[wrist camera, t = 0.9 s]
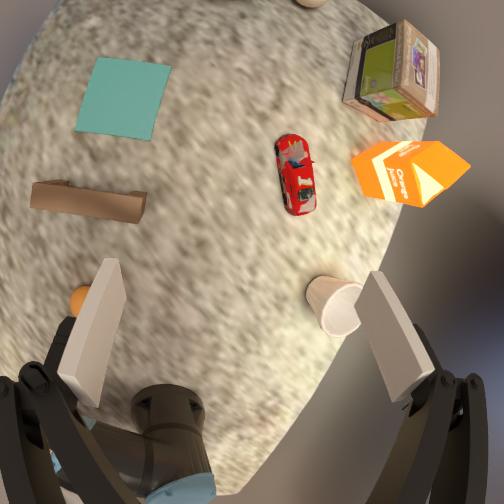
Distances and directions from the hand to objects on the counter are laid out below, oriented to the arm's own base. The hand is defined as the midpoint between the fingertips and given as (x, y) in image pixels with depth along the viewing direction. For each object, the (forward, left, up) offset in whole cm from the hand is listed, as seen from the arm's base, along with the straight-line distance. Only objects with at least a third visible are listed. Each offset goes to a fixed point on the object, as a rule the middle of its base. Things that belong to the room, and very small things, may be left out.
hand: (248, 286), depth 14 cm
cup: (-10, -26, -30) cm, 41 cm away
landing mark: (+15, +14, -29) cm, 36 cm away
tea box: (+32, -26, -30) cm, 51 cm away
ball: (-16, +14, -27) cm, 34 cm away
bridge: (0, +14, -29) cm, 33 cm away
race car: (+9, -15, -30) cm, 35 cm away
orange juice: (+15, -31, -30) cm, 45 cm away
